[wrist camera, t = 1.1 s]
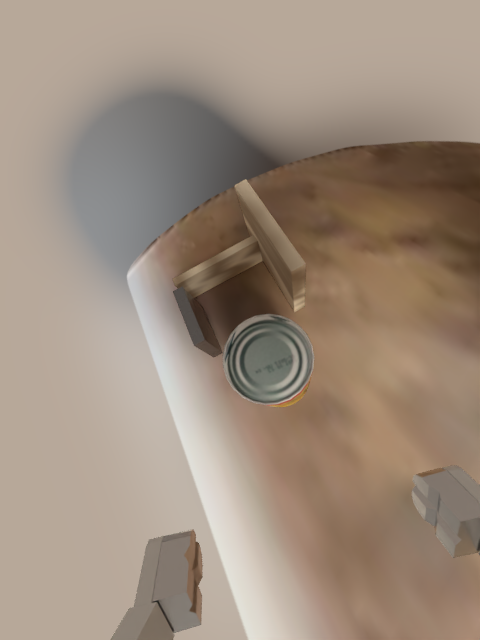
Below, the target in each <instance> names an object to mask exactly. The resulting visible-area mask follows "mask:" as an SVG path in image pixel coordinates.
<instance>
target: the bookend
mask: <svg viewBox="0 0 480 640" xmlns="http://www.w3.org/2000/svg"><path fill="white" fill-rule="evenodd" d="M173 293H174V295H175V298H176V301H177V303H178V306H179V308H180V311H181V313H182V316H183V318H184V321H185V323H186V326H187V329H188V331H189V334H190V336H191V339H192V341H193V344H194V346H196V347H198V348H199V349H201V350H202V351H204V352H206V353H207V354H209V355H211V356H212V357H216V356H218V355H219V354H221V353H222V350H221V348H220V346H219V344H218V341H217V339H216V337H215V334H214V332H213V330H212V328H211V325H210V323H209V321H208V319H207V316H206V314H205V312H204V309H203V307H202V306H201V305H200V304H199V303H198V302H197V301H196V300H195V299H194V298H193V297H192V296H191V295H190V294H189V293H188V292H187V291H186V289H185V288H184V287H183V286H182V287H180V288H179V289H177V290H175V291H173Z"/></svg>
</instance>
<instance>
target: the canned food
mask: <svg viewBox="0 0 480 640" xmlns="http://www.w3.org/2000/svg"><path fill="white" fill-rule="evenodd" d="M313 365H314V353H313V347H312V344H311V342H310V340H309V338H308V336H307V334H306V333H305V332H304V330H303V329H302V328H301V327H300V326H299V325H298V324H296V323H295V322H294V321H292V320H291V319H289V318H286V317H283V316H281V315H275V314H263V315H256V316H254V317H251V318H249V319H246V320H245V321H244V322H242V323H241V324H239V325H238V326H237V327H236V328H235V329H234V330H233V332H232V333H231V334H230V336H229V338H228V340H227V342H226V344H225V347H224V352H223V369H224V372H225V375H226V379H227V380H228V382H229V383H230V385H231V387H232V388H233V389H234V390H235V391H236V392H237V393H238V394H239V395H240V396H241V397H243V398H245V399H247V400H249V401H251V402H252V403H257V404H262V405H267V406H273V407H287V406H290V405H292V404H295V403H296V402H297V401H299V400H300V399H301V398H302V397H303V396H304V394H305V393H306V391H307V389H308V386H309V383H310V379H311V376H312V372H313Z"/></svg>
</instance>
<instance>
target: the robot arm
mask: <svg viewBox="0 0 480 640" xmlns="http://www.w3.org/2000/svg"><path fill="white" fill-rule="evenodd" d="M413 482H414V483H415V485H416V486H415V487H414V488H413V489H412V498H413V501H414V504H415V506H416V508H417V510H418V512H419V513H420V514H421V516H422V517H423V519H424V520H425V521H427V522H428V523H430V524H431V525H433V526H434V527H435V534H436V536H437V537H438V539H439V540H440V541H441V543H442V544H443V545H444V546H445V548H446V549H447V550H448V552H449V553H450V554H451V556H452V557H453V558H456V557H460V556H465V555H469V554H474V553H478V552H479V555H480V485H479V484H478V483H477V482H476V481H475V480H474V479H472V478H471V477H470V476H469V475H468V474H467V473H466V472H465V471H464V470H463V469H462V468H460V467H459V466H457V465H450V466H446V467H442V468H437V469H434V470H430V471H426V472H423V473H419V474H416V475H414V476H413ZM201 579H202V554H201V549H200V545H199V543H198V542H196V534H195V532H194V530H193V529H192V530H188V531H184V532H179V533H176V534H172V535H167V536H162V537H158V538H154V539H150V540H149V541H148V544H147V546H146V550H145V556H144V561H143V565H142V570H141V575H140V580H139V585H138V589H137V594H136V599H135V604H134V607H133V608H130V609H129V610H128V611H127V613H126V615H125V616H124V618H123V620H122V621H121V623H120V625H119V626H118V628H117V630H116V632H115V633H114V635H113V636H112V638H111V640H173V638H174V633H176V632H179V631H182V630H186V629H189V628H192V627H196V626H199V625H201V612H202V611H201V610H202V595H201V592H200V589H199V587H198V585H199V583H200V581H201Z"/></svg>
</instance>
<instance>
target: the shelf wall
mask: <svg viewBox="0 0 480 640" xmlns="http://www.w3.org/2000/svg"><path fill="white" fill-rule="evenodd" d="M234 187H235V190H236V193H237V197H238V200H239V203H240V207H241V210H242V213H243V217H244V220H245V223H246V227H247V230H248V233H249V236H250V237H248V238H247V239H245V240H243V241H241V242H239V243H237V244H236V245H234V246H232V247H230V248H228V249H226V250H225V251H223V252H221V253H219V254H217V255H215V256H214V257H212V258H210V259H208V260H206V261H204V262H203V263H201V264H199V265H197V266H195V267H194V268H192V269H190V270H188V271H186V272H184V273H183V274H181V275H179V276H177V277H175V278H173V282H174V284H175V286H176V287H177V288H178V289H179V288H180V287H182V286H183V287H184V288H185V289H186V291H187V292H188V293H189V294H190V295H191V296H192V297H193V298H195V297H197V296H199V295H200V294H202V293H204V292H206V291H208V290H210V289H212V288H213V287H215V286H217V285H219V284H221V283H223V282H225V281H226V280H228V279H230V278H232V277H234V276H236V275H238V274H239V273H241V272H243V271H245V270H247V269H249V268H250V267H252V266H254V265H256V264H258V263H260V262H262V261H263V262H264V264H265V265H266V267H267V268H268V270H269V272H270V273H271V275H272V277H273V278H274V280H275V281H276V283H277V285H278V286H279V288H280V289H281V291H282V293H283V294H284V296H285V298H286V299H287V301H288V302H289V304H290V306H291V307H292V309H293V310H294V312H296V311H298V310H299V309H301V308H303V307H305V280H306V263H305V262H304V260H303V259H302V258H301V256H300V255H299V253H298V252H297V250H296V249H295V248H294V246H293V245H292V243H291V242H290V241H289V239H288V238H287V236H286V235H285V234H284V232H283V231H282V229H281V228H280V226H279V225H278V224H277V222H276V221H275V219H274V218H273V217H272V215H271V214H270V212H269V211H268V210H267V208H266V207H265V205H264V204H263V202H262V201H261V200H260V198H259V197H258V195H257V194H256V193H255V191H254V190H253V188H252V187H251V186H250V184H249V183H248V181H247V180H246V179H245V180H243V181H242V182H240V183H238V184H236V185H235V186H234Z"/></svg>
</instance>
